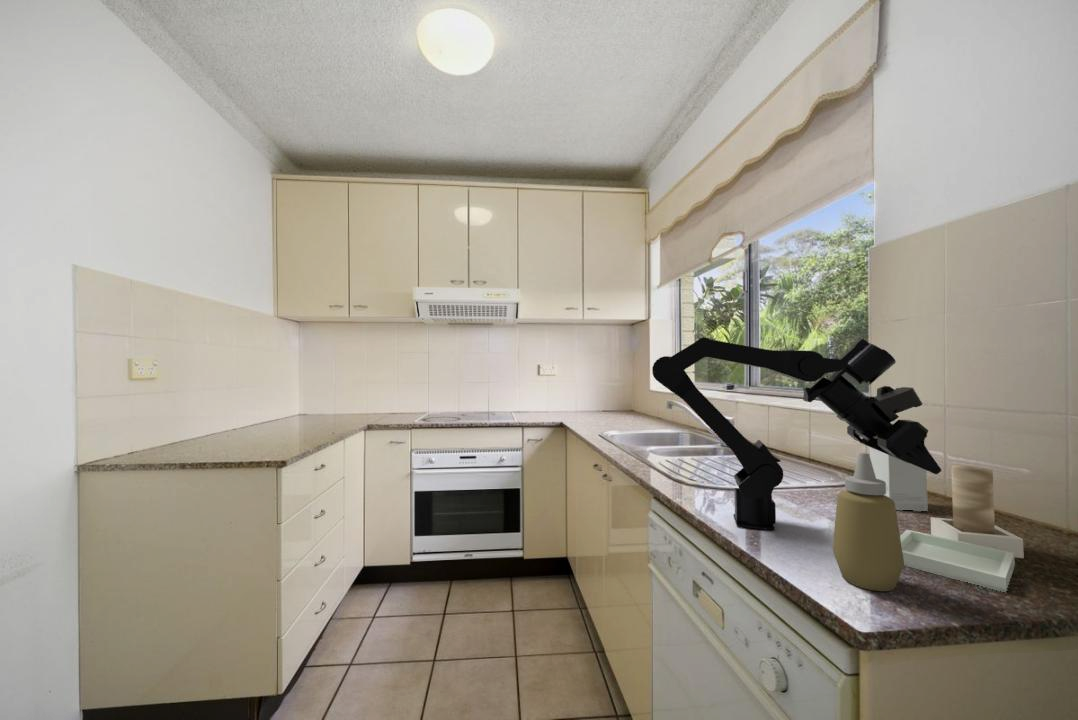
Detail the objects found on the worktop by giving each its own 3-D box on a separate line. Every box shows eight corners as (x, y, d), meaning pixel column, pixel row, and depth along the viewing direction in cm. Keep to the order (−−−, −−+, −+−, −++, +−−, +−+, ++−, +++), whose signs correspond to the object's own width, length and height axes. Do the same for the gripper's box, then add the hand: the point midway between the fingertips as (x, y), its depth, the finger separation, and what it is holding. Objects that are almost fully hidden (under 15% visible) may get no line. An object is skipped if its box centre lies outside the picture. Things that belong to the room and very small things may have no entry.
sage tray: (1006, 593, 57) (1005, 578, 57) (887, 561, 67) (886, 548, 67) (1014, 566, 65) (1014, 553, 65) (907, 541, 75) (906, 529, 75)
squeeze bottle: (882, 602, 55) (878, 461, 56) (820, 575, 62) (817, 451, 63) (918, 589, 58) (914, 456, 59) (854, 565, 66) (851, 447, 66)
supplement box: (929, 512, 90) (927, 452, 90) (889, 510, 92) (887, 450, 92) (906, 502, 97) (905, 446, 98) (869, 500, 99) (868, 445, 99)
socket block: (958, 551, 70) (957, 533, 71) (931, 533, 78) (930, 517, 78) (1023, 558, 68) (1023, 539, 68) (988, 539, 76) (988, 521, 76)
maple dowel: (964, 549, 71) (962, 470, 72) (947, 538, 76) (944, 464, 77) (1003, 553, 70) (1000, 472, 70) (983, 541, 75) (980, 466, 75)
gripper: (910, 371, 69) (1002, 444, 65) (863, 371, 87) (933, 428, 83) (854, 419, 71) (939, 492, 67) (819, 410, 89) (885, 467, 85)
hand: (924, 466), depth 75 cm, fingers open, 9 cm apart
